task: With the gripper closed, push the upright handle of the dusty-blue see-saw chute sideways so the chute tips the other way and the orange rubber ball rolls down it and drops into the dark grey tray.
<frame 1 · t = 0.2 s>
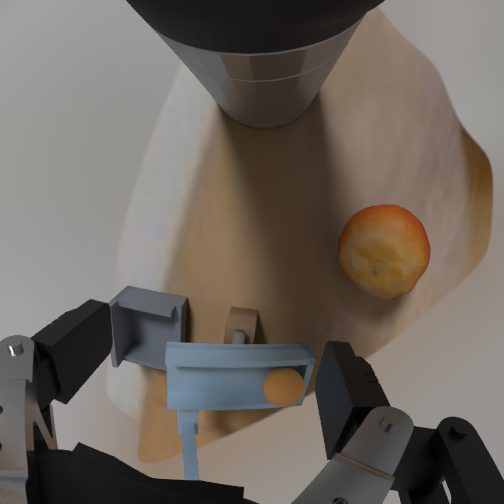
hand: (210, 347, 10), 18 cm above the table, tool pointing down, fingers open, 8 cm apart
fulcrum: (240, 337, 30), on the table
lever: (242, 433, 21), point 11 cm above the table, hinge at -15.0°, touching ball
fruit: (370, 240, 27), on the table
tray: (156, 321, 30), on the table
ball: (283, 386, 23), point 7 cm above the table, tilted 9°, touching lever
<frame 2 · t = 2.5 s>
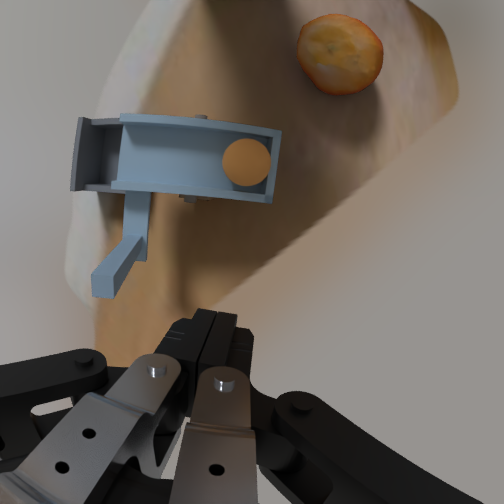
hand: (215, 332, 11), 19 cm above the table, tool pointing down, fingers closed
lever: (191, 198, 18), point 11 cm above the table, hinge at -15.0°, touching ball
fruit: (333, 66, 25), on the table
tray: (124, 156, 28), on the table
ball: (246, 162, 21), point 7 cm above the table, tilted 9°, touching lever
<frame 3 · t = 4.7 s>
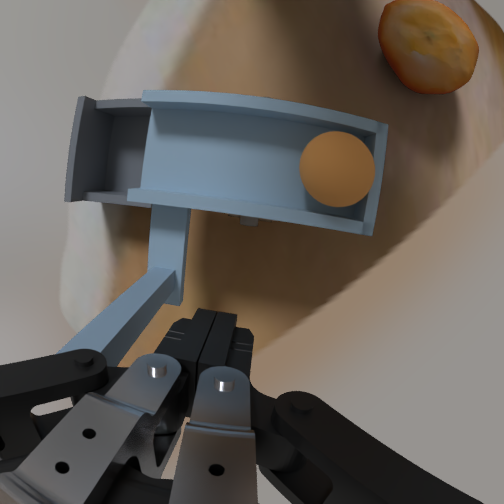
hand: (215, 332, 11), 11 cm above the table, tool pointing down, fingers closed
lever: (245, 225, 11), point 11 cm above the table, hinge at -1.0°, touching ball, gripper, hand
fruit: (409, 59, 18), on the table
tray: (140, 154, 21), on the table
ball: (337, 168, 13), point 8 cm above the table, tilted 5°, touching lever
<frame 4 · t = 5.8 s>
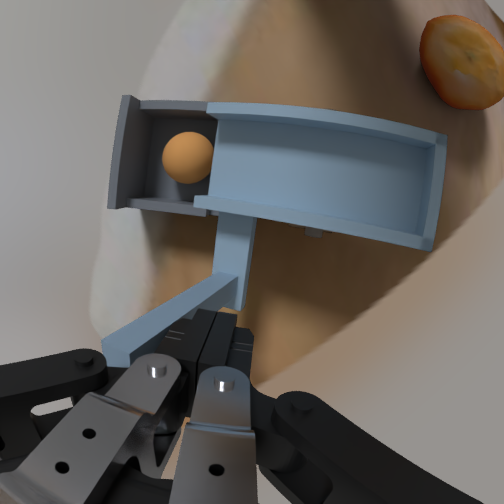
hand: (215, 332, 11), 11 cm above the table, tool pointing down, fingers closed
lever: (300, 235, 11), point 11 cm above the table, hinge at 15.0°, touching gripper
fruit: (443, 73, 18), on the table
tray: (184, 159, 21), on the table
ball: (188, 157, 19), point 2 cm above the table, tilted 17°, touching tray
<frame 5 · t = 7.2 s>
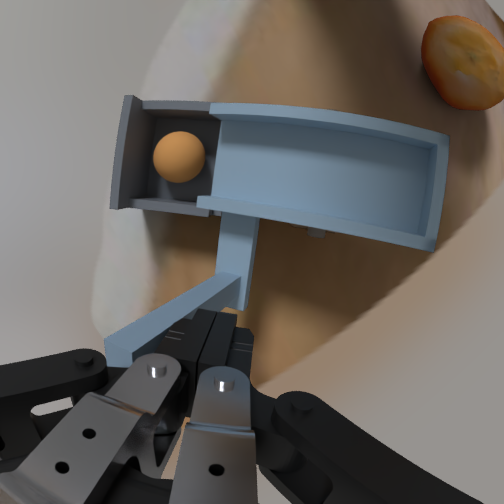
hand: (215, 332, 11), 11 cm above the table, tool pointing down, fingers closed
lever: (303, 235, 11), point 11 cm above the table, hinge at 15.5°, touching gripper
fruit: (444, 74, 18), on the table
tray: (186, 159, 21), on the table
ball: (179, 157, 19), point 2 cm above the table, tilted 43°, touching tray
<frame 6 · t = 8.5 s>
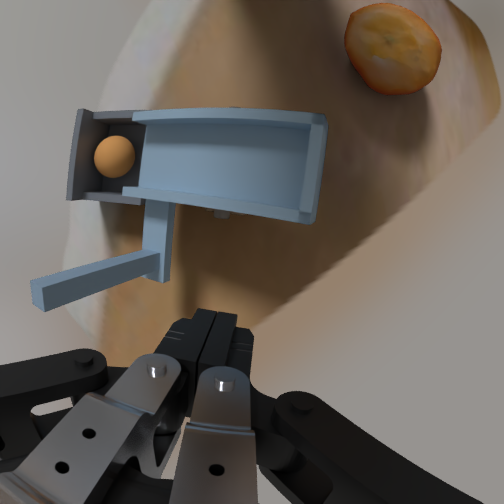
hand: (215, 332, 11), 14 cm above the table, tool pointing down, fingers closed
lever: (172, 209, 14), point 11 cm above the table, hinge at 15.9°
fruit: (378, 63, 21), on the table
tray: (132, 158, 23), on the table
ball: (114, 156, 21), point 2 cm above the table, tilted 69°, touching tray
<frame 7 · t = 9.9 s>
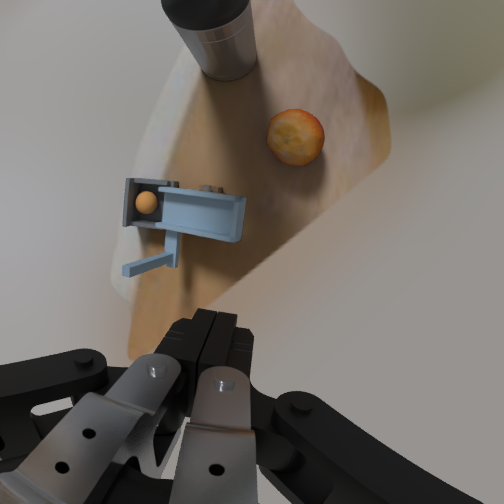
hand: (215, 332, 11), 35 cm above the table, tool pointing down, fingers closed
fulcrum: (211, 208, 45), on the table
lever: (180, 237, 36), point 11 cm above the table, hinge at 15.9°
fruit: (294, 140, 42), on the table
tray: (155, 202, 45), on the table
ball: (146, 202, 43), point 2 cm above the table, tilted 71°, touching tray
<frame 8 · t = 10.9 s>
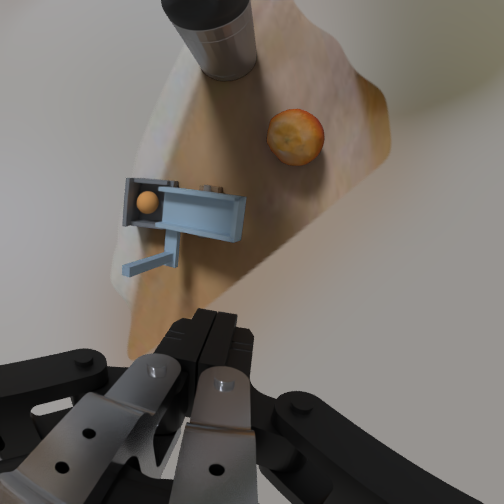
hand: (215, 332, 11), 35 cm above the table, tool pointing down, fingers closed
fulcrum: (211, 208, 45), on the table
lever: (180, 237, 36), point 11 cm above the table, hinge at 15.9°
fruit: (294, 140, 42), on the table
tray: (155, 201, 45), on the table
ball: (147, 202, 43), point 2 cm above the table, tilted 64°, touching tray
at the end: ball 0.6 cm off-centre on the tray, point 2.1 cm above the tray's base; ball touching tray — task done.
